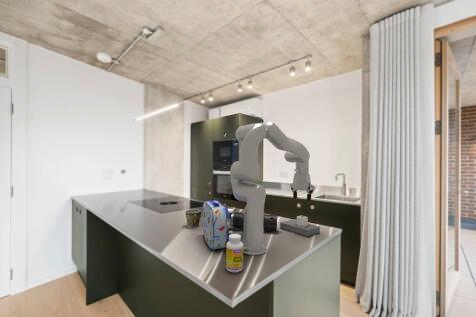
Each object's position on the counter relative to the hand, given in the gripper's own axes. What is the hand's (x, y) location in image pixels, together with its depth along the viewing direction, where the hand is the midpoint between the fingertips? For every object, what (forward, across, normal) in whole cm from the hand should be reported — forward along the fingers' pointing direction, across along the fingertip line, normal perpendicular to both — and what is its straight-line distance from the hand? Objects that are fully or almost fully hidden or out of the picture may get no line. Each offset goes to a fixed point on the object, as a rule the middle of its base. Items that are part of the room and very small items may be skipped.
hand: (301, 199), depth 129 cm
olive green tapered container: (+20, -47, -47) cm, 70 cm away
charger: (+18, 0, 0) cm, 18 cm away
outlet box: (+19, -2, +1) cm, 19 cm away
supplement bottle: (+20, +11, -58) cm, 63 cm away
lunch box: (+20, -16, -50) cm, 57 cm away
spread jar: (+20, -34, -31) cm, 51 cm away
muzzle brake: (+20, -20, -21) cm, 35 cm away
